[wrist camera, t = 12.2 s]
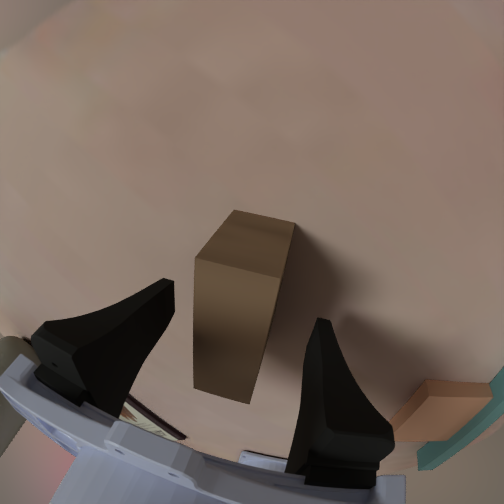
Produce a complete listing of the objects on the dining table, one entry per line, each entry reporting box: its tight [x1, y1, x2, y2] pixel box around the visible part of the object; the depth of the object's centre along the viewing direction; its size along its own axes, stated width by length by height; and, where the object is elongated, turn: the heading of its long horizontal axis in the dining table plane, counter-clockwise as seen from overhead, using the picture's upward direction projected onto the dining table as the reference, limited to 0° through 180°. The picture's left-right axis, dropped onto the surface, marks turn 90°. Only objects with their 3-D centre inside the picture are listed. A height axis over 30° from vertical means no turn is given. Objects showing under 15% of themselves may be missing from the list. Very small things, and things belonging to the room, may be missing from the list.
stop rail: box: [417, 367, 504, 471], centre depth 16 cm, size 20×2×2 cm, turn 172°
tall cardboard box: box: [193, 210, 295, 404], centre depth 14 cm, size 8×3×5 cm, turn 172°
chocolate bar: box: [119, 394, 186, 441], centre depth 28 cm, size 9×1×18 cm
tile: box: [389, 379, 493, 442], centre depth 18 cm, size 7×7×2 cm
